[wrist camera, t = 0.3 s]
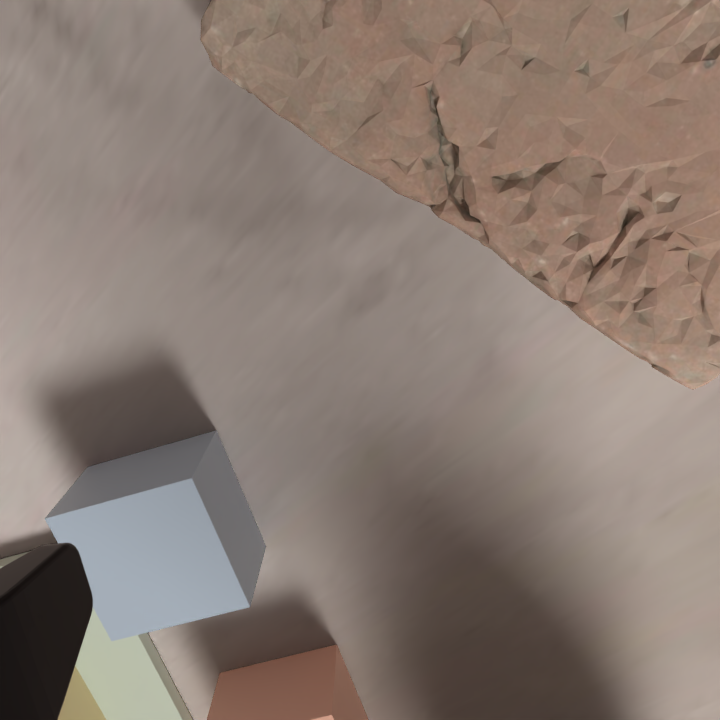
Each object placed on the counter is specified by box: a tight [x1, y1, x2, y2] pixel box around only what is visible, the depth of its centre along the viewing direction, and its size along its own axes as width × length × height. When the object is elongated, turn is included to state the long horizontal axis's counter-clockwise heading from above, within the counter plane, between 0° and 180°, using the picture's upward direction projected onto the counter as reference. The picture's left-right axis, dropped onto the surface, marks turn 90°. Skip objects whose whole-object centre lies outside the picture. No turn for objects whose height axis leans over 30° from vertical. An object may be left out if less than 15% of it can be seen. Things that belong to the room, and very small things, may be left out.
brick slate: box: [45, 430, 266, 641], centre depth 23 cm, size 5×5×4 cm
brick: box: [201, 0, 720, 390], centre depth 18 cm, size 17×8×5 cm, turn 57°
